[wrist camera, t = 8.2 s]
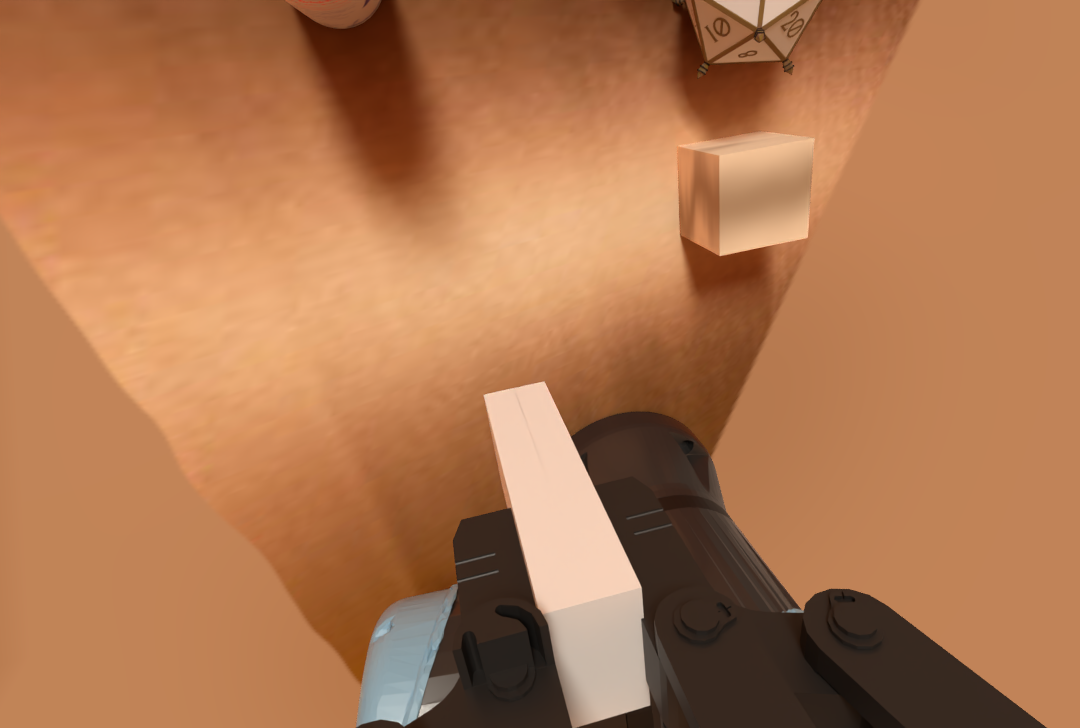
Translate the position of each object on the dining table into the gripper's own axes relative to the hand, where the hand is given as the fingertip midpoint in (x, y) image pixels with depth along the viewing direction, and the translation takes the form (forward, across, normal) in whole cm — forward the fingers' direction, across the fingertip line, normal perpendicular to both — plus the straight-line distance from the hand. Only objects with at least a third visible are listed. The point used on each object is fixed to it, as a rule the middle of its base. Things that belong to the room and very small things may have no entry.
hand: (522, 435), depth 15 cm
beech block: (+27, -19, +1) cm, 33 cm away
